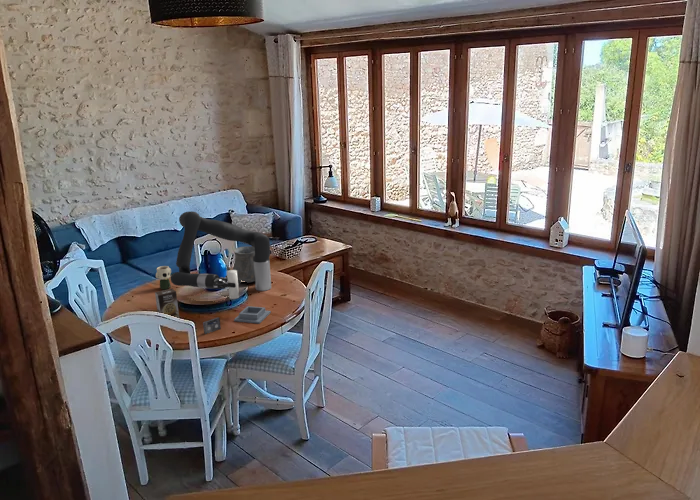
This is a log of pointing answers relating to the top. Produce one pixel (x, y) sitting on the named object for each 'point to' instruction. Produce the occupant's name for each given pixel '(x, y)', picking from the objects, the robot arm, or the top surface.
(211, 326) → the mini dv tape
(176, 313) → the coffee box
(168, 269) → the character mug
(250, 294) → the top surface
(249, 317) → the slate socket
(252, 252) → the vessel
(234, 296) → the cream canister
